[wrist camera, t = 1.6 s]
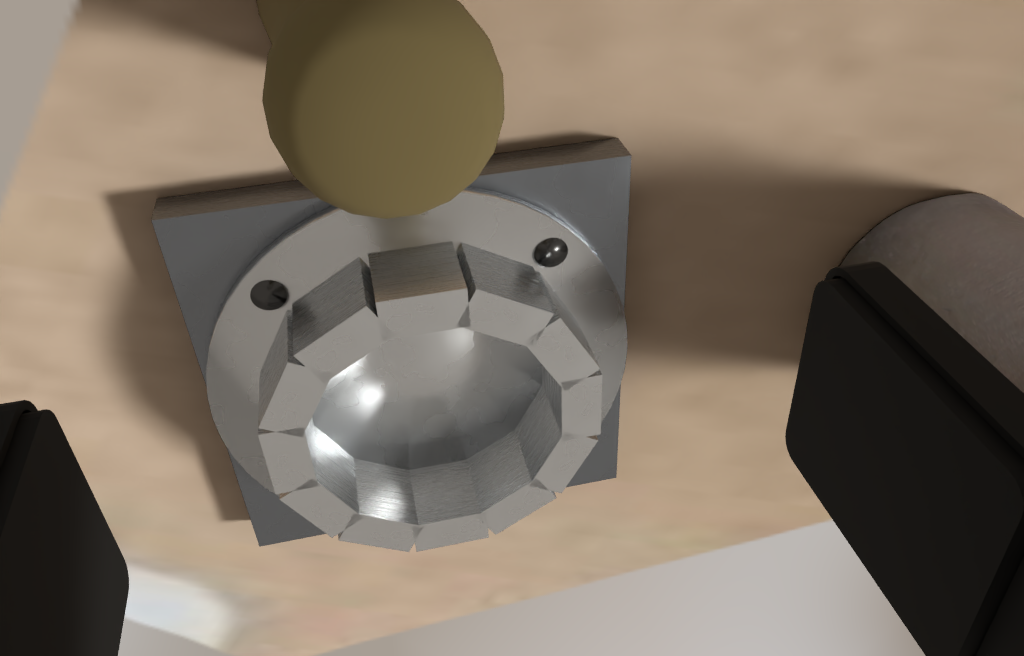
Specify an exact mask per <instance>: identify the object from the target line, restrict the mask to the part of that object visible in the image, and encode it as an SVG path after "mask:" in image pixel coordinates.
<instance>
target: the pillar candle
mask: <svg viewBox="0 0 1024 656" xmlns="http://www.w3.org/2000/svg"><path fill="white" fill-rule="evenodd" d="M872 261H875V262H880V263H881V264H883V265H885V266H886V267H887V268H888V269H889V270H890V271H891V272H892V273H893V274H895V275H896V276H897V277H898V278H899V279H900V280H901V281H902V282H903V283H904V284H905V285H906V286H908V287H909V288H910V289H911V290H912V291H913V292H914V293H915V294H916V295H917V296H918V297H920V298H921V299H922V300H923V301H924V302H925V303H926V304H927V305H928V306H929V307H930V308H932V309H933V310H934V311H935V312H936V313H937V314H938V315H939V316H940V317H941V318H942V319H943V320H945V321H946V322H947V323H948V324H949V325H950V326H951V327H952V328H953V329H954V330H955V331H957V332H958V333H959V334H960V335H961V336H962V337H963V338H964V339H965V340H966V341H967V342H968V343H970V344H971V345H972V346H973V347H974V348H975V349H976V350H977V351H978V352H979V353H980V354H982V355H983V356H984V357H985V358H986V359H987V360H988V361H989V362H990V363H991V364H992V365H994V366H995V367H996V368H997V369H998V370H999V371H1000V372H1001V373H1002V374H1003V375H1004V376H1005V377H1007V378H1008V379H1009V380H1010V381H1011V382H1012V383H1013V384H1014V385H1015V386H1016V387H1017V388H1019V389H1020V390H1021V391H1022V392H1023V393H1024V218H1023V217H1021V216H1020V215H1018V214H1017V213H1015V212H1014V211H1012V210H1011V209H1009V208H1008V207H1006V206H1005V205H1003V204H1001V203H999V202H998V201H996V200H994V199H992V198H990V197H988V196H986V195H982V194H977V193H967V194H960V195H949V196H944V197H940V198H936V199H932V200H928V201H924V202H919V203H916V204H913V205H911V206H908V207H906V208H904V209H902V210H900V211H899V212H897V213H894V214H893V215H892V216H890V217H888V218H887V219H885V220H883V221H882V222H881V223H880V224H879V225H877V226H876V227H875V228H873V229H872V230H871V231H870V232H869V233H867V235H866V236H865V237H864V238H863V239H862V240H860V241H859V242H858V243H857V244H856V245H855V246H854V247H853V248H852V250H851V251H850V252H849V253H848V254H847V256H846V258H845V259H844V261H843V262H842V263H841V265H840V266H839V267H841V266H847V265H853V264H860V263H866V262H872Z"/></svg>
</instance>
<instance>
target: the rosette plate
mask: <svg viewBox="0 0 1024 656" xmlns="http://www.w3.org/2000/svg"><path fill="white" fill-rule="evenodd" d="M630 173H631V154H630V153H629V152H628V150H627V149H626V148H625V147H624V145H623V144H622V143H621V141H620V140H619V139H618V138H614V139H606V140H598V141H591V142H583V143H576V144H568V145H561V146H553V147H545V148H538V149H530V150H523V151H515V152H508V153H500V154H493V155H492V156H491V158H490V159H489V161H488V162H487V164H486V165H485V167H484V168H483V170H482V171H481V173H480V174H479V176H478V177H477V179H476V180H475V181H474V182H472V183H471V184H470V185H469V186H468V187H466V188H465V189H464V190H463V191H462V192H460V193H459V194H458V195H457V196H456V197H454V198H453V199H452V200H451V201H449V202H447V203H445V204H442V205H440V206H438V207H435V208H433V209H431V210H428V211H426V212H424V213H422V214H419V215H412V216H404V217H397V218H389V219H382V218H376V217H369V216H362V215H355V214H351V213H348V212H346V211H344V210H342V209H340V208H337V207H335V206H333V205H331V204H329V203H327V202H324V201H322V200H320V199H319V198H318V197H317V196H316V195H314V194H313V193H312V192H311V191H310V190H309V189H308V188H307V187H305V186H304V185H303V184H302V183H301V182H300V181H299V180H296V181H288V182H280V183H273V184H265V185H258V186H250V187H243V188H235V189H227V190H220V191H212V192H205V193H197V194H190V195H182V196H174V197H167V198H159V199H157V200H156V204H155V208H154V212H153V216H152V220H151V221H152V224H153V227H154V230H155V233H156V236H157V239H158V242H159V245H160V248H161V251H162V254H163V257H164V260H165V263H166V266H167V269H168V272H169V275H170V278H171V281H172V284H173V287H174V290H175V293H176V296H177V299H178V302H179V305H180V308H181V311H182V314H183V317H184V320H185V323H186V326H187V329H188V332H189V335H190V338H191V341H192V344H193V347H194V350H195V353H196V356H197V359H198V362H199V365H200V368H201V371H202V374H203V377H204V380H205V383H206V386H207V397H208V401H209V405H210V410H211V414H212V418H213V420H214V423H215V425H216V427H217V430H218V432H219V434H220V436H221V439H222V440H223V442H224V443H225V445H226V447H227V450H228V453H229V456H230V459H231V462H232V465H233V468H234V471H235V474H236V477H237V480H238V483H239V486H240V489H241V492H242V495H243V498H244V501H245V504H246V507H247V510H248V513H249V516H250V519H251V522H252V525H253V528H254V531H255V534H256V537H257V540H258V543H259V546H265V545H270V544H275V543H280V542H285V541H290V540H296V539H301V538H306V537H311V536H316V535H321V534H328V535H329V536H330V537H332V538H333V537H334V536H336V535H337V534H338V537H339V541H345V542H351V543H357V544H364V545H370V546H376V547H382V548H388V549H394V550H400V551H406V552H409V551H410V549H411V548H412V546H413V544H414V543H415V545H416V552H418V551H423V550H428V549H433V548H438V547H443V546H448V545H453V544H458V543H463V542H468V541H473V540H478V539H483V538H488V537H489V536H488V528H489V529H490V530H491V531H492V532H493V533H494V534H498V533H499V532H501V531H503V530H504V529H506V528H508V527H509V526H511V525H513V524H514V523H516V522H517V521H519V520H521V519H522V518H524V517H526V516H527V515H529V514H531V513H532V512H534V511H536V510H537V509H539V508H541V507H542V506H544V505H546V504H547V503H549V502H551V501H552V500H554V499H555V498H556V496H555V493H554V492H558V493H562V492H563V490H564V489H565V488H566V487H570V486H575V485H580V484H585V483H590V482H596V481H601V480H606V479H611V478H616V471H617V450H618V429H619V407H620V386H621V380H622V376H623V373H624V369H625V363H626V355H627V348H628V347H627V325H626V320H625V314H624V301H625V280H626V258H627V237H628V216H629V194H630Z"/></svg>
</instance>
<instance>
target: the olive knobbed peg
mask: <svg viewBox="0 0 1024 656" xmlns="http://www.w3.org/2000/svg"><path fill="white" fill-rule="evenodd" d="M256 1H257V6H258V11H259V15H260V17H261V20H262V22H263V24H264V27H265V29H266V32H267V34H268V36H269V39H270V41H271V44H272V47H271V49H270V51H269V53H268V57H267V65H266V73H265V81H264V89H263V100H262V101H263V106H264V111H265V115H266V120H267V125H268V129H269V134H270V138H271V139H272V141H273V143H274V145H275V146H276V148H277V150H278V151H279V153H280V155H281V156H282V158H283V160H284V161H285V163H286V165H287V166H288V168H289V170H290V171H291V173H292V174H293V176H294V177H295V178H296V179H298V180H299V181H300V182H301V183H302V184H303V185H304V186H305V187H307V188H308V189H309V190H310V191H311V192H312V193H313V194H314V195H316V196H317V197H318V198H319V199H320V200H322V201H324V202H327V203H329V204H331V205H333V206H335V207H337V208H340V209H342V210H344V211H346V212H348V213H351V214H355V215H362V216H369V217H376V218H382V219H389V218H397V217H404V216H412V215H419V214H422V213H424V212H426V211H428V210H431V209H433V208H435V207H438V206H440V205H442V204H445V203H447V202H449V201H451V200H452V199H453V198H454V197H456V196H457V195H458V194H459V193H460V192H462V191H463V190H464V189H465V188H466V187H468V186H469V185H470V184H471V183H472V182H474V181H475V180H476V179H477V177H478V176H479V174H480V173H481V171H482V170H483V168H484V167H485V165H486V164H487V162H488V161H489V159H490V158H491V156H492V155H493V153H494V151H495V148H496V144H497V141H498V137H499V134H500V130H501V127H502V123H503V120H504V89H503V73H502V71H501V68H500V65H499V63H498V60H497V57H496V55H495V52H494V49H493V47H492V44H491V42H490V39H489V38H488V36H487V35H486V34H485V32H484V31H483V30H482V28H481V27H480V26H479V25H478V23H477V22H476V21H475V20H474V19H473V17H472V16H471V15H470V14H469V12H468V11H467V10H466V9H465V8H464V6H463V5H462V4H461V3H460V2H459V1H457V0H256Z"/></svg>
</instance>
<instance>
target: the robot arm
mask: <svg viewBox="0 0 1024 656" xmlns="http://www.w3.org/2000/svg"><path fill="white" fill-rule="evenodd" d="M785 437H786V445H787V449H788V452H789V455H790V457H791V459H792V460H793V462H794V464H795V465H796V466H797V468H798V469H799V471H800V472H801V474H802V475H803V477H804V478H805V480H806V481H807V483H808V484H809V485H810V487H811V488H812V490H813V491H814V493H815V494H816V496H817V497H818V499H819V500H820V502H821V503H822V504H823V506H824V507H825V509H826V510H827V512H828V513H829V515H830V516H831V518H832V519H833V521H834V522H835V523H836V525H837V526H838V528H839V529H840V531H841V532H842V534H843V535H844V537H845V538H846V540H847V541H848V543H849V544H850V545H851V547H852V548H853V550H854V551H855V553H856V554H857V556H858V557H859V558H860V560H861V562H862V563H863V564H864V566H865V567H866V569H867V570H868V572H869V573H870V574H871V576H872V578H873V579H874V580H875V582H876V583H877V585H878V586H879V587H880V589H881V591H882V592H883V594H884V595H885V597H886V598H887V599H888V601H889V602H890V604H891V605H892V607H893V608H894V610H895V611H896V613H897V614H898V616H899V617H900V619H901V620H902V622H903V623H904V624H905V626H906V627H907V629H908V630H909V632H910V633H911V635H912V636H913V638H914V639H915V640H916V642H917V643H918V645H919V646H920V648H921V649H922V651H923V652H924V654H925V655H926V656H1024V393H1023V392H1022V391H1021V390H1020V389H1019V388H1017V387H1016V386H1015V385H1014V384H1013V383H1012V382H1011V381H1010V380H1009V379H1008V378H1007V377H1005V376H1004V375H1003V374H1002V373H1001V372H1000V371H999V370H998V369H997V368H996V367H995V366H994V365H992V364H991V363H990V362H989V361H988V360H987V359H986V358H985V357H984V356H983V355H982V354H980V353H979V352H978V351H977V350H976V349H975V348H974V347H973V346H972V345H971V344H970V343H968V342H967V341H966V340H965V339H964V338H963V337H962V336H961V335H960V334H959V333H958V332H957V331H955V330H954V329H953V328H952V327H951V326H950V325H949V324H948V323H947V322H946V321H945V320H943V319H942V318H941V317H940V316H939V315H938V314H937V313H936V312H935V311H934V310H933V309H932V308H930V307H929V306H928V305H927V304H926V303H925V302H924V301H923V300H922V299H921V298H920V297H918V296H917V295H916V294H915V293H914V292H913V291H912V290H911V289H910V288H909V287H908V286H906V285H905V284H904V283H903V282H902V281H901V280H900V279H899V278H898V277H897V276H896V275H895V274H893V273H892V272H891V271H890V270H889V269H888V268H887V267H886V266H885V265H883V264H881V263H880V262H875V261H872V262H866V263H860V264H853V265H847V266H841V267H835V268H833V269H831V270H830V271H829V272H828V274H827V275H826V278H825V281H821V282H819V283H818V284H817V285H816V287H815V290H814V294H813V299H812V304H811V309H810V314H809V319H808V324H807V329H806V334H805V339H804V344H803V349H802V354H801V359H800V364H799V369H798V374H797V379H796V384H795V389H794V394H793V399H792V404H791V409H790V414H789V418H788V423H787V428H786V436H785ZM128 590H129V577H128V570H127V566H126V563H125V560H124V558H123V555H122V553H121V551H120V549H119V547H118V545H117V543H116V541H115V539H114V537H113V535H112V533H111V530H110V528H109V526H108V524H107V522H106V520H105V518H104V516H103V514H102V512H101V510H100V507H99V505H98V503H97V501H96V499H95V497H94V495H93V493H92V491H91V489H90V487H89V485H88V482H87V480H86V478H85V476H84V474H83V472H82V470H81V468H80V466H79V464H78V462H77V460H76V457H75V455H74V453H73V451H72V449H71V447H70V445H69V443H68V441H67V439H66V437H65V435H64V432H63V430H62V428H61V426H60V424H59V422H58V420H57V418H56V416H55V415H54V413H53V412H52V411H50V410H41V411H38V410H37V409H36V407H35V406H34V405H33V404H32V403H31V402H30V401H26V400H23V401H16V402H10V403H4V404H0V656H118V650H119V644H120V639H121V633H122V626H123V621H124V615H125V609H126V603H127V597H128Z"/></svg>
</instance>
